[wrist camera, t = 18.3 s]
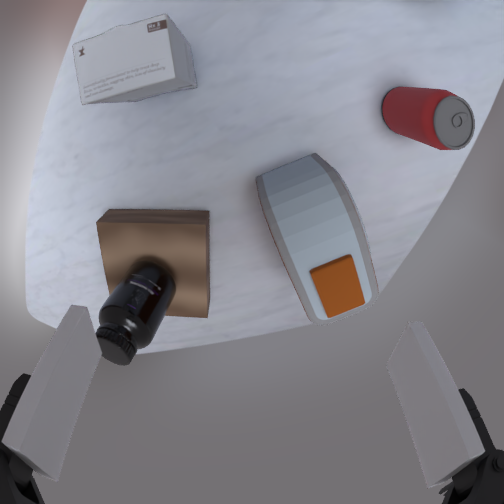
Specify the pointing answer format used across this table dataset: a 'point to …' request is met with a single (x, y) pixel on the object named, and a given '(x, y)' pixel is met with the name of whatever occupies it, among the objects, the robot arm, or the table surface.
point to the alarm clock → (319, 238)
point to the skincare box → (134, 62)
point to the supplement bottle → (134, 311)
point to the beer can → (429, 117)
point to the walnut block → (161, 251)
